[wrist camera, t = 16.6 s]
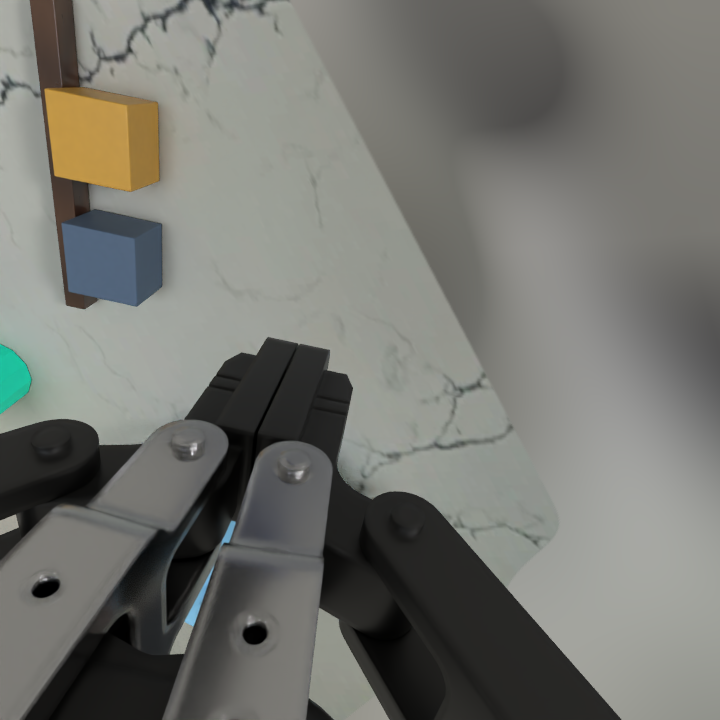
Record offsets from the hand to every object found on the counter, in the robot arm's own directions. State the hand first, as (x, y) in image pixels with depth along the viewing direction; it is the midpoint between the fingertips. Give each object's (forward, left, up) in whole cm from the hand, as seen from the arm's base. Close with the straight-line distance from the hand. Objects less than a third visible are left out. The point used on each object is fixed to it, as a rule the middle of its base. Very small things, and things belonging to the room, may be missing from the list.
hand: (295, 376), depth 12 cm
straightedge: (+3, -21, -25) cm, 33 cm away
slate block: (+8, -17, -25) cm, 32 cm away
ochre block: (0, -18, -25) cm, 31 cm away
